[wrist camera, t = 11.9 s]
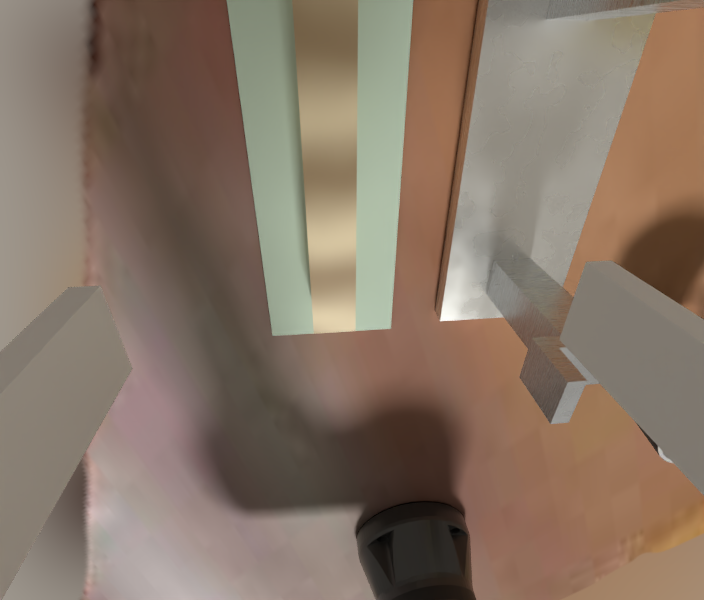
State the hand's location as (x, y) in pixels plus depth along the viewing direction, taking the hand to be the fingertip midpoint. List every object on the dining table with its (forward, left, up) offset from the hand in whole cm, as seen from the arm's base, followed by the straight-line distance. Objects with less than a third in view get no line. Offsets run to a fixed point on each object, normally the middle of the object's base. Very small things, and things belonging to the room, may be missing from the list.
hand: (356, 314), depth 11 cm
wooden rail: (0, 0, -17) cm, 17 cm away
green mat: (0, 0, -18) cm, 18 cm away
